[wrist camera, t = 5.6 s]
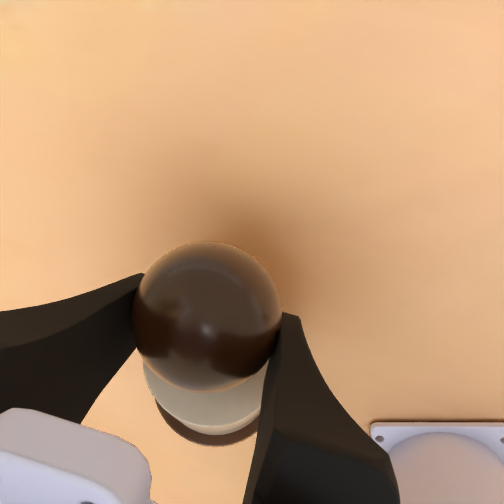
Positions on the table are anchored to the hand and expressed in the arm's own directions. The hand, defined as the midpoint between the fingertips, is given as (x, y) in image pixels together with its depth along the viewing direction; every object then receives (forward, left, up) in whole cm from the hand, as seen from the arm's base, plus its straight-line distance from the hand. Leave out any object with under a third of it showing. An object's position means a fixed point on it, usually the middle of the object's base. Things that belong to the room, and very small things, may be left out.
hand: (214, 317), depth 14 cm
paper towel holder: (-7, +3, -5) cm, 9 cm away
